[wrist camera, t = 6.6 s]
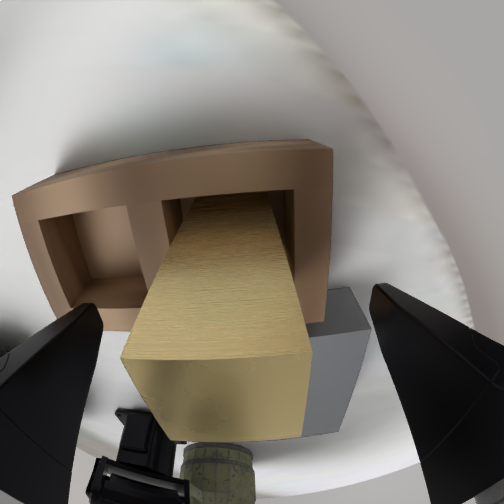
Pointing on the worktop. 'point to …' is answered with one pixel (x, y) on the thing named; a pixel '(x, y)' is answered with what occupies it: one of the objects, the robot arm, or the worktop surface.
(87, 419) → the worktop surface
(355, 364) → the socket block
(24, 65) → the worktop surface
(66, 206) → the walnut rack
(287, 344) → the block
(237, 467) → the olive carved statue
